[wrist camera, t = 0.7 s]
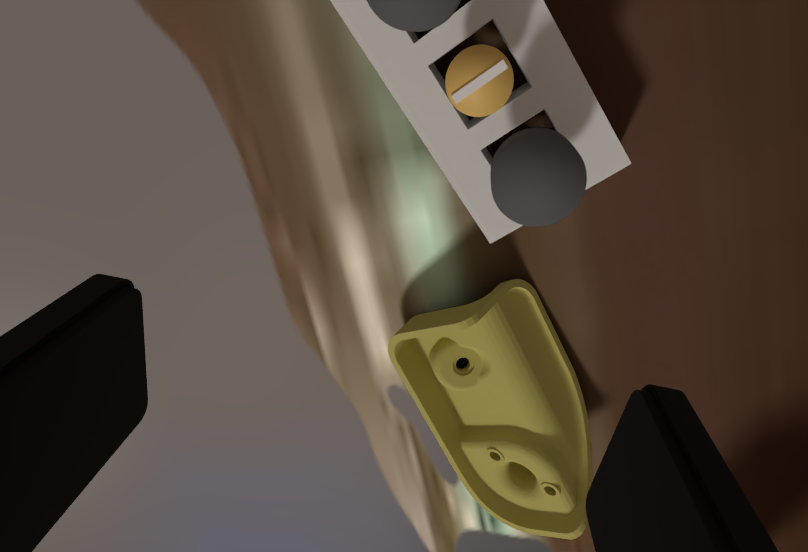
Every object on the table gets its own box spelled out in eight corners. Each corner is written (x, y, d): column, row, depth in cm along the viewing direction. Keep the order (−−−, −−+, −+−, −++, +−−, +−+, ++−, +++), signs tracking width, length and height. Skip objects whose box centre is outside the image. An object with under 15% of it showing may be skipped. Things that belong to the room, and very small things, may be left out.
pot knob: (490, 30, 31) (490, 29, 27) (520, 83, 32) (526, 91, 28) (439, 67, 32) (431, 72, 28) (470, 117, 33) (468, 130, 29)
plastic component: (377, 337, 42) (480, 319, 35) (425, 289, 48) (524, 265, 41) (487, 526, 47) (597, 544, 40) (519, 464, 52) (622, 470, 45)
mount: (468, -123, 31) (466, -143, 27) (616, 150, 36) (631, 163, 32) (337, -11, 34) (319, -16, 31) (489, 224, 40) (490, 244, 36)
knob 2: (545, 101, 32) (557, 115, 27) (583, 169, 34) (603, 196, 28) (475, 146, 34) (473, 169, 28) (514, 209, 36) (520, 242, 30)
